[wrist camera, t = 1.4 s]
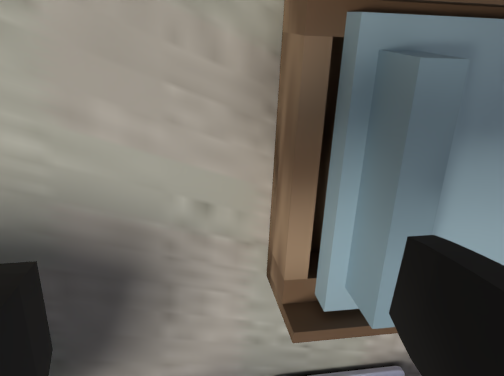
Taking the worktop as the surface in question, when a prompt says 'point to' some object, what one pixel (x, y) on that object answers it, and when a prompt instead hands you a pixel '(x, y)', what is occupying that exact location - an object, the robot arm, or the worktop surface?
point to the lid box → (320, 152)
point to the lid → (411, 151)
